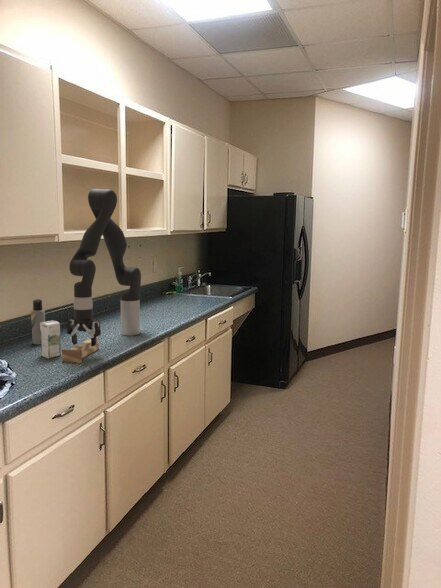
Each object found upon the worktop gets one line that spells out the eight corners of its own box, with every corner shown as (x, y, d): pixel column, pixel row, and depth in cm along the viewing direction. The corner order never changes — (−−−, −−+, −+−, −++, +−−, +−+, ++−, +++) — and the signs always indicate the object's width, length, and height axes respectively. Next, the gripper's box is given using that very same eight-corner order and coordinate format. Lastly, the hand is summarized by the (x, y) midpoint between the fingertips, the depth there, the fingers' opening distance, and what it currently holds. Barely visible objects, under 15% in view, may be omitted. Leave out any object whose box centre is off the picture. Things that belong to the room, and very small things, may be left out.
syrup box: (53, 353, 194) (52, 319, 191) (61, 356, 190) (60, 322, 187) (41, 356, 189) (39, 322, 187) (48, 359, 186) (47, 324, 183)
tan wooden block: (87, 347, 202) (86, 337, 201) (103, 349, 200) (103, 338, 199) (62, 361, 183) (61, 349, 183) (80, 363, 182) (79, 351, 181)
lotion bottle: (47, 341, 210) (46, 298, 207) (43, 344, 205) (41, 301, 201) (35, 341, 210) (33, 298, 207) (30, 344, 205) (28, 301, 201)
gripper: (103, 306, 191) (103, 344, 194) (72, 304, 194) (73, 341, 197) (94, 310, 184) (95, 349, 186) (62, 307, 187) (63, 345, 189)
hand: (84, 345), depth 191 cm, fingers open, 8 cm apart
